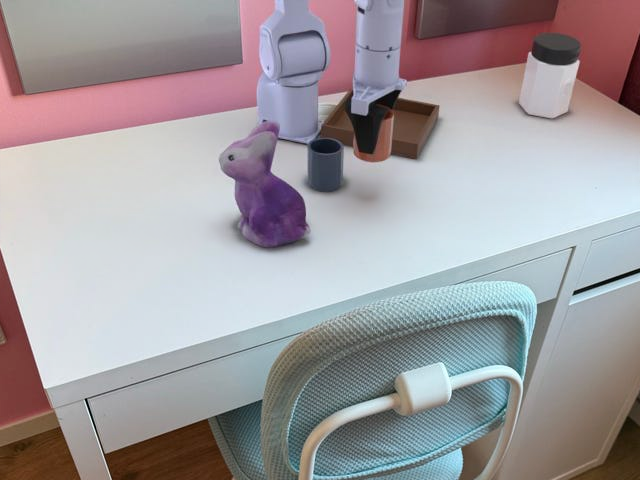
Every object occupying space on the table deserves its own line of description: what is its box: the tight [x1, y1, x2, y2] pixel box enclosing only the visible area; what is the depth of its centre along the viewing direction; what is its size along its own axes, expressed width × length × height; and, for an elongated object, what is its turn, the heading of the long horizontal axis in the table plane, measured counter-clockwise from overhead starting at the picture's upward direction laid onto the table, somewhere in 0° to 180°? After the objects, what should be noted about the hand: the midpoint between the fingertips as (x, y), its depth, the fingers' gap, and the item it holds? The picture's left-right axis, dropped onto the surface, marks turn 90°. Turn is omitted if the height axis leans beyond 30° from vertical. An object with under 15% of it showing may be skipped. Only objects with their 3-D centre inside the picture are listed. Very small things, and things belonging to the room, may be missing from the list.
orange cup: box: [352, 104, 394, 163], centre depth 100 cm, size 5×5×6 cm
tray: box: [320, 88, 440, 160], centre depth 122 cm, size 16×15×3 cm
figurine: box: [218, 121, 311, 248], centre depth 94 cm, size 9×10×15 cm
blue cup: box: [306, 137, 345, 193], centre depth 107 cm, size 5×5×6 cm
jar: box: [518, 32, 582, 120], centre depth 129 cm, size 9×8×12 cm
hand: (372, 142), depth 101 cm, fingers closed on orange cup, 5 cm apart
